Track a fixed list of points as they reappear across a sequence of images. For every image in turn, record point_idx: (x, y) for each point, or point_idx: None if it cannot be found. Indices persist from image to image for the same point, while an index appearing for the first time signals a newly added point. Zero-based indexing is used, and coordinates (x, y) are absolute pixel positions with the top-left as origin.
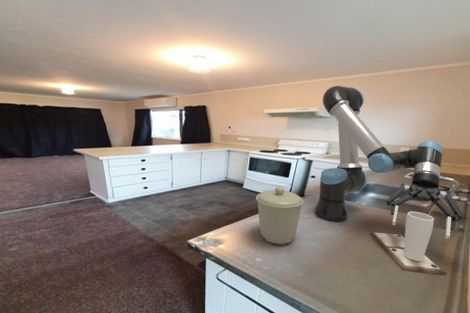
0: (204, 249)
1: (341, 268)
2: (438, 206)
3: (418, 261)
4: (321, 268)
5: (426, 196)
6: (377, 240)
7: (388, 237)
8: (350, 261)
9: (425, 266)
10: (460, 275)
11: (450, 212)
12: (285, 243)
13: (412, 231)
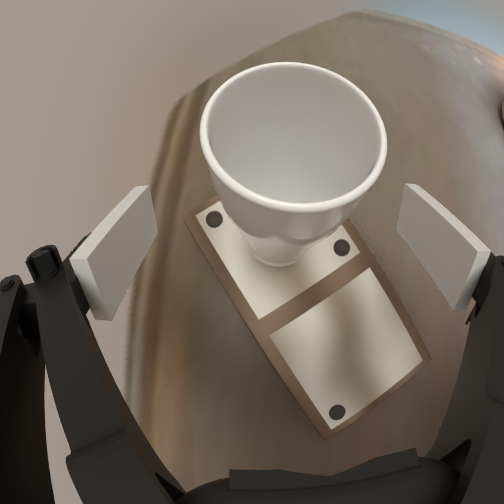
0: None
1: (401, 85)
2: (130, 416)
3: None
4: (421, 70)
5: (282, 499)
6: (401, 304)
7: (373, 359)
8: (406, 118)
9: None
10: None
11: (50, 295)
12: (502, 110)
13: (308, 131)
